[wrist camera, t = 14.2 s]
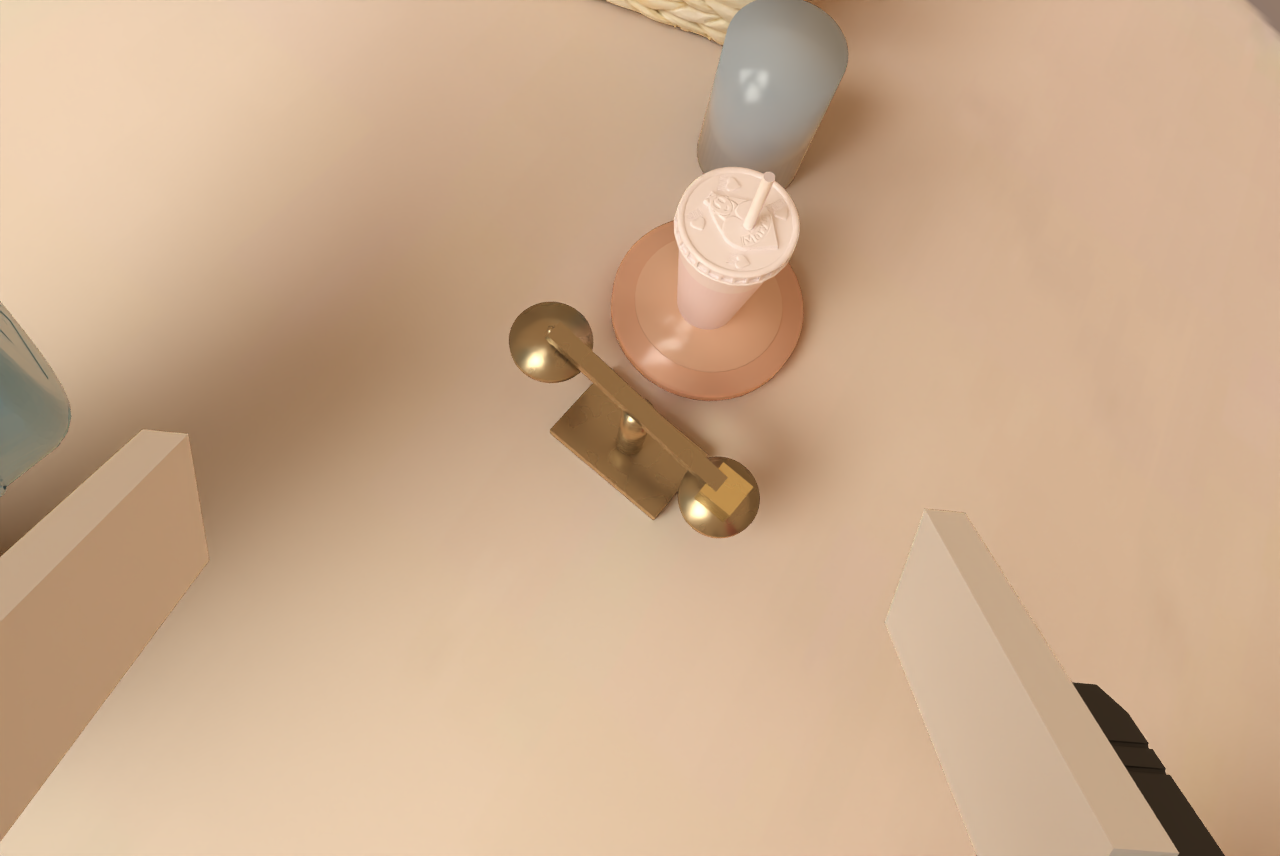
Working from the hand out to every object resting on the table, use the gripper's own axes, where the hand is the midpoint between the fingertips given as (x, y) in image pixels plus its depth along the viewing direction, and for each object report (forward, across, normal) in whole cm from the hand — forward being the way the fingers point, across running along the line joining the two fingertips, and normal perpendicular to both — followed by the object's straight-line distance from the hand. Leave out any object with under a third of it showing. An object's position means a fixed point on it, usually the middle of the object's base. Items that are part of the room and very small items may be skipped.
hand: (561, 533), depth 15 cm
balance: (+30, +3, -15) cm, 33 cm away
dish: (+36, +7, -8) cm, 38 cm away
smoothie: (+35, +7, -8) cm, 37 cm away
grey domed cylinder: (+45, +9, 0) cm, 46 cm away
